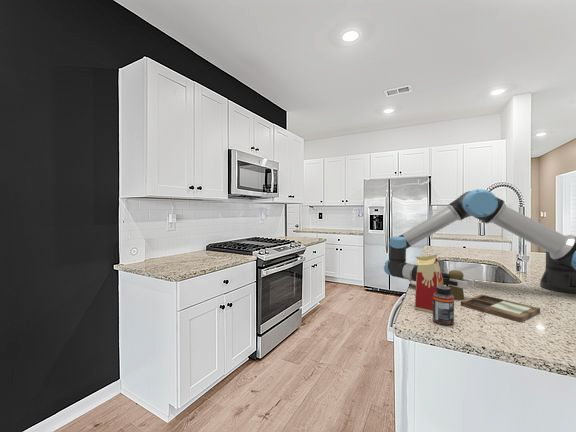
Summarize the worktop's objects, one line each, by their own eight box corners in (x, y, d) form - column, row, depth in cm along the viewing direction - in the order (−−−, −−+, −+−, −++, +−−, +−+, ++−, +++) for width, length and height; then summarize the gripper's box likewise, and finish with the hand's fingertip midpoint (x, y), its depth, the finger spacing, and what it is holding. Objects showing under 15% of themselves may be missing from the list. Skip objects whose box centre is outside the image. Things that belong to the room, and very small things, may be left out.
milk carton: (445, 307, 105) (446, 253, 104) (438, 314, 98) (438, 256, 98) (419, 302, 111) (420, 250, 111) (410, 308, 104) (411, 253, 104)
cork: (462, 296, 118) (462, 269, 118) (466, 300, 113) (466, 272, 112) (445, 294, 120) (446, 268, 120) (448, 299, 115) (449, 271, 114)
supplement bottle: (435, 317, 96) (435, 283, 96) (455, 321, 92) (455, 286, 92) (430, 322, 92) (431, 287, 91) (451, 327, 88) (452, 290, 87)
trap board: (481, 298, 116) (481, 294, 116) (540, 312, 100) (540, 307, 100) (460, 305, 107) (460, 301, 107) (521, 322, 91) (521, 317, 91)
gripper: (426, 278, 136) (480, 290, 116) (403, 283, 127) (458, 298, 107) (426, 262, 136) (481, 272, 116) (403, 267, 127) (458, 278, 107)
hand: (470, 284), depth 112 cm, fingers closed on cork, 4 cm apart
